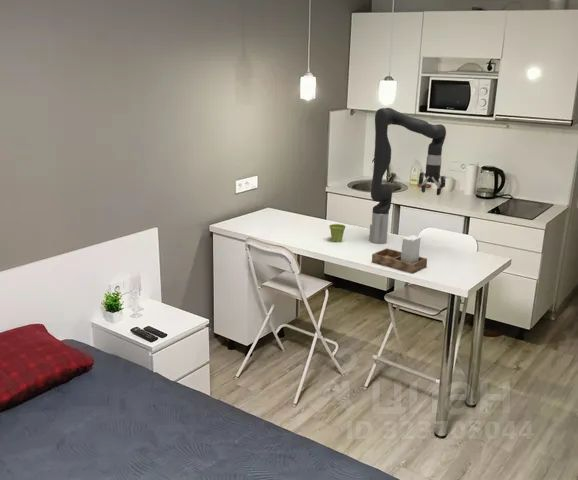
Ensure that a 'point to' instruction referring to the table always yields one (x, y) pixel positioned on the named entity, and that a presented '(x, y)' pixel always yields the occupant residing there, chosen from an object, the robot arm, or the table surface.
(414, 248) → the skincare box
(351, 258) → the table surface
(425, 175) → the robot arm
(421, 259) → the divided wooden tray
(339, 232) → the plant pot
